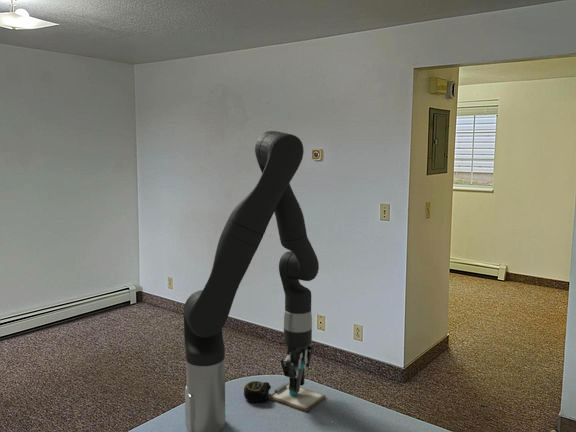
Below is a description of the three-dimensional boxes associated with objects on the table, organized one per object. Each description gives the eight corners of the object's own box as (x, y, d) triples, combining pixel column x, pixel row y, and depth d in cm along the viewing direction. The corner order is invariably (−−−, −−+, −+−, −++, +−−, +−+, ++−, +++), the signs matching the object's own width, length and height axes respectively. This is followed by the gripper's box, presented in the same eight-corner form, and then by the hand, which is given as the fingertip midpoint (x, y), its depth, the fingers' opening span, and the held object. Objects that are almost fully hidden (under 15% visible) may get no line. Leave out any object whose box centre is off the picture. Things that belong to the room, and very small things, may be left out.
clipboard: (268, 399, 134) (268, 393, 134) (288, 385, 142) (288, 380, 142) (307, 412, 128) (307, 406, 127) (325, 397, 135) (325, 392, 135)
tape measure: (266, 406, 131) (266, 392, 131) (241, 403, 132) (241, 390, 132) (271, 393, 138) (271, 381, 137) (247, 391, 139) (247, 379, 138)
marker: (290, 397, 134) (295, 366, 132) (286, 390, 136) (291, 360, 134) (300, 396, 135) (306, 366, 133) (296, 389, 138) (301, 359, 136)
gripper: (296, 337, 125) (295, 401, 127) (322, 321, 136) (321, 380, 139) (271, 331, 128) (271, 393, 131) (299, 316, 140) (298, 373, 143)
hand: (297, 386), depth 135 cm, fingers closed on marker, 3 cm apart
